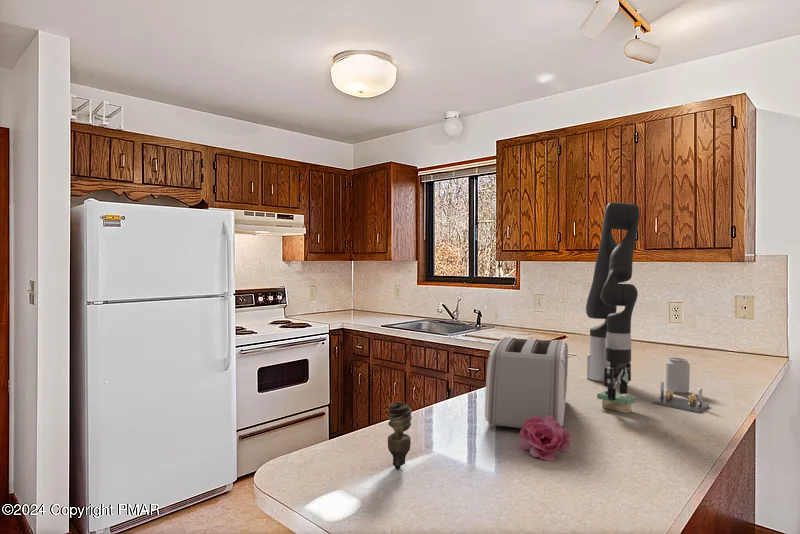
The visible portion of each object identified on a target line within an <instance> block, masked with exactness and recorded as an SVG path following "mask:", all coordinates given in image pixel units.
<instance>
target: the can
mask: <svg viewBox="0 0 800 534" xmlns="http://www.w3.org/2000/svg"><path fill="white" fill-rule="evenodd" d="M688 361H689V360H688V359H686V358H683V357H682V358H681V357H669V358H668V360H667V361H666V362H665V363H666V364H665V365H666V366H665V389H666V391H669V390H673V394H678V395H681V394H682V395H683V394H684V395H685V394H687V393H689V391H690V367H691V365H690V363H689V362H688Z"/></svg>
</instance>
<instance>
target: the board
mask: <svg viewBox="0 0 800 534" xmlns="http://www.w3.org/2000/svg"><path fill="white" fill-rule="evenodd" d="M596 395H597V396H596V397H597V399H598V400H607V401H612V402H616V403H621V404H626V405H630V404H631V405H632V404H634V403H637V400H638V399H637V396H634V395H631V394H629V393H627V394H620V393H619V392H616V399H615V400H614V401H613V400H609V399H608V390H603V391H601V392H598V393H597V394H596Z"/></svg>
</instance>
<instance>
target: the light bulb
mask: <svg viewBox="0 0 800 534" xmlns="http://www.w3.org/2000/svg"><path fill="white" fill-rule="evenodd" d="M389 407H390V408H388V409H387V414H388V416H387V419H388V422H387V425H388V426H389V427H390V428H392V429H393V431H394V432H393V433H391V434H389V435H388V436H387V449H388V451H389V453H390V454H391V456H392V465H393V467H394V468H395V469H396V470H399V469H400V468H401V467H402V466H403V465H405V464H406V456H407V455H408V453H409V452H410V451H411V436H410V435H409V434H407V433H404V432H406V431H408V430H409V429H410V428H411V426H412V422H411V421H412V414H413V413H412V411H413V410H412V408H411V407H410V406H409V405H408V404H406V403H405V402H402V401H395V402H394V401H393V402H390V404H389Z"/></svg>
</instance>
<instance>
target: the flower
mask: <svg viewBox="0 0 800 534" xmlns="http://www.w3.org/2000/svg"><path fill="white" fill-rule="evenodd" d="M518 433H519V434H518V436H519V438H518V439H519V440H518V441H519V447H520V449H521V450H523V451H527V452H529V454H530V455H531V456H532V457H534V458H539V459H541V460H544V461H547V462H552V461H554V460H555V459H556V451H557V452H560V453H563V454H564V453H567V452H568V450H569V449H570V446H571V440H572V439H571V433H570V431H569V429H568V428H567V427H565V428H563V426H562V427H561V425H560V424H559V422H558V421H557V420H555V419H554V418H553V417H552V416H550V415H547V416H545V417H544V418H541V417H540V416H534V417H532V418H528V419H526V421H525V422H524V424H523V428H520V431H519V432H518Z"/></svg>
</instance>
